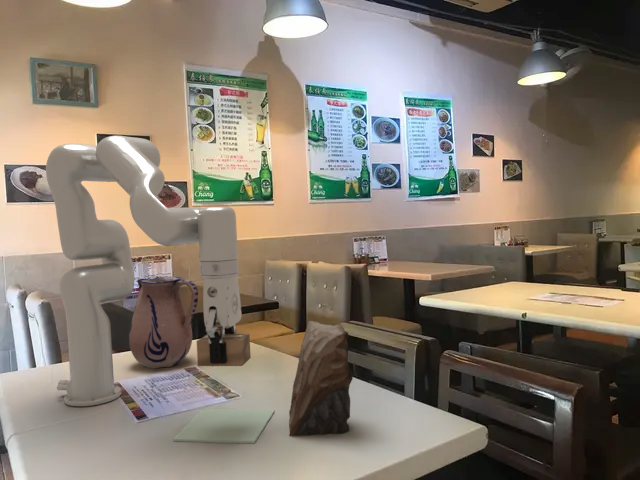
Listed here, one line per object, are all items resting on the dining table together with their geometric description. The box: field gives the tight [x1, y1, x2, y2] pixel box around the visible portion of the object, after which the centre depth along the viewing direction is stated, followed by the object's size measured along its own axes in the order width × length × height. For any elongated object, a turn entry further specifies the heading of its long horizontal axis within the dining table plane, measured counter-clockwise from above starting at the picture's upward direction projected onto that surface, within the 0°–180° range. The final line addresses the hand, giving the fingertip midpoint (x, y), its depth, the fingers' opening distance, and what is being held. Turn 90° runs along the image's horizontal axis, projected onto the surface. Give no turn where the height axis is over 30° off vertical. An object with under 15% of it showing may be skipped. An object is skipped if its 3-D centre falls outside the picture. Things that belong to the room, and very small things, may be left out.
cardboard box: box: [196, 333, 252, 367], centre depth 111 cm, size 6×9×5 cm, turn 81°
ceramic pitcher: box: [128, 276, 199, 369], centre depth 160 cm, size 18×21×25 cm
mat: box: [172, 408, 275, 444], centre depth 112 cm, size 16×16×1 cm
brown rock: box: [288, 320, 354, 437], centre depth 110 cm, size 13×13×20 cm
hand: (224, 357), depth 111 cm, fingers closed on cardboard box, 6 cm apart
